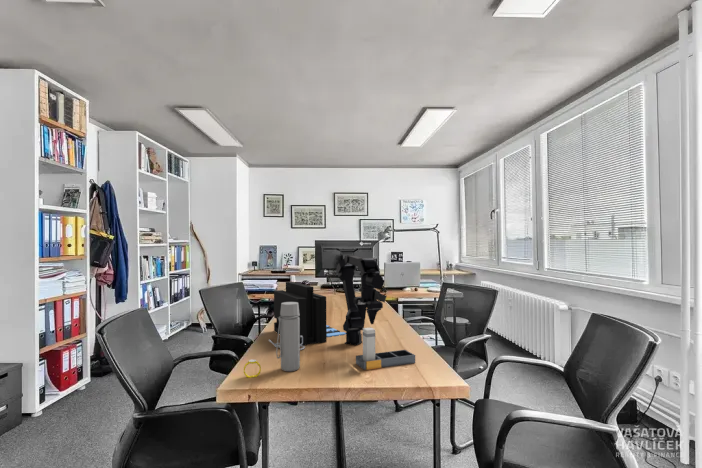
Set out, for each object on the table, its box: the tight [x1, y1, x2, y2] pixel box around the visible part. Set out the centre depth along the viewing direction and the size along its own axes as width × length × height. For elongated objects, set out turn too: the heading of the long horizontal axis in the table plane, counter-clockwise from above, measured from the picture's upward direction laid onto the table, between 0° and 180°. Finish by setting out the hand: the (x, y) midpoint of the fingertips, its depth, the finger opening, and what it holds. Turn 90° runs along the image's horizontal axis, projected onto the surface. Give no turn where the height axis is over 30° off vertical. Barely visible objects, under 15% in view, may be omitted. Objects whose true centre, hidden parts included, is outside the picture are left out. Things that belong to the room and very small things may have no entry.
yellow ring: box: [243, 359, 262, 379], centre depth 139 cm, size 6×3×6 cm, turn 106°
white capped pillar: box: [362, 327, 376, 361], centre depth 149 cm, size 4×4×14 cm
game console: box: [273, 281, 346, 347], centre depth 202 cm, size 35×30×27 cm
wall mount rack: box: [268, 336, 306, 351], centre depth 174 cm, size 16×14×6 cm
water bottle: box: [275, 302, 301, 372], centre depth 147 cm, size 9×8×25 cm
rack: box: [355, 349, 416, 371], centre depth 151 cm, size 22×9×4 cm, turn 111°
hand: (367, 322), depth 169 cm, fingers open, 9 cm apart
